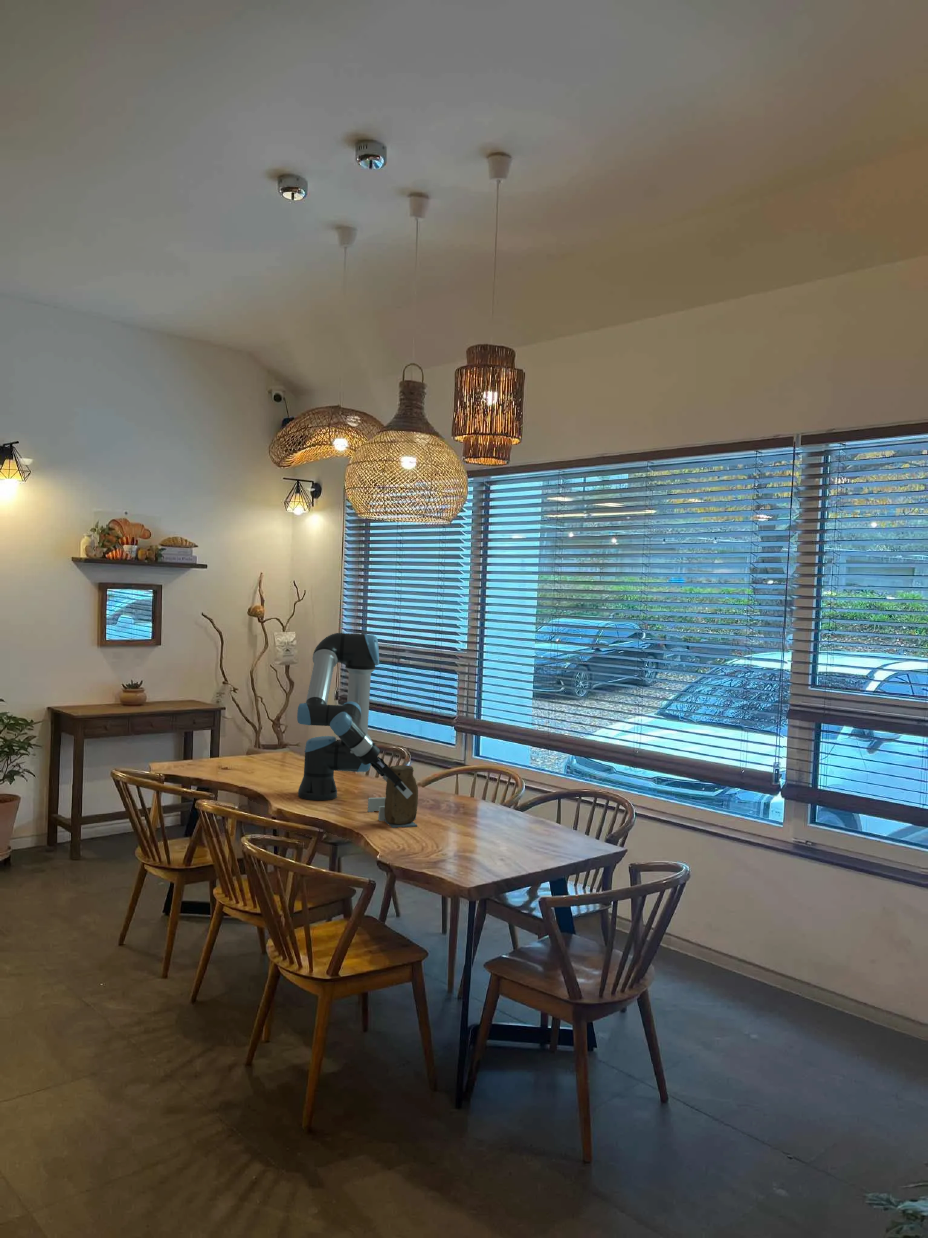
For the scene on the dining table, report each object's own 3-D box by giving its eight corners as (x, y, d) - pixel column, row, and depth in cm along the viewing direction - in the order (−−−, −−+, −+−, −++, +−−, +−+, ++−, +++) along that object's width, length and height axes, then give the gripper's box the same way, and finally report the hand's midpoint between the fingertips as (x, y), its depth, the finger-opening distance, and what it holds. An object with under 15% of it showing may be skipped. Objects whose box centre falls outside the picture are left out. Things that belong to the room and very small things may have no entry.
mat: (384, 821, 316) (384, 819, 316) (408, 820, 320) (408, 818, 320) (392, 828, 308) (392, 826, 308) (417, 826, 312) (417, 825, 312)
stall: (367, 811, 329) (369, 787, 329) (403, 810, 334) (404, 786, 334) (379, 821, 316) (380, 796, 316) (415, 819, 322) (417, 794, 321)
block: (390, 826, 308) (394, 768, 308) (382, 820, 315) (385, 764, 314) (418, 823, 313) (422, 767, 313) (409, 818, 320) (413, 763, 319)
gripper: (347, 750, 318) (384, 791, 324) (368, 764, 295) (407, 807, 301) (362, 736, 320) (398, 776, 326) (384, 748, 297) (423, 791, 303)
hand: (403, 791), depth 314 cm, fingers open, 13 cm apart
